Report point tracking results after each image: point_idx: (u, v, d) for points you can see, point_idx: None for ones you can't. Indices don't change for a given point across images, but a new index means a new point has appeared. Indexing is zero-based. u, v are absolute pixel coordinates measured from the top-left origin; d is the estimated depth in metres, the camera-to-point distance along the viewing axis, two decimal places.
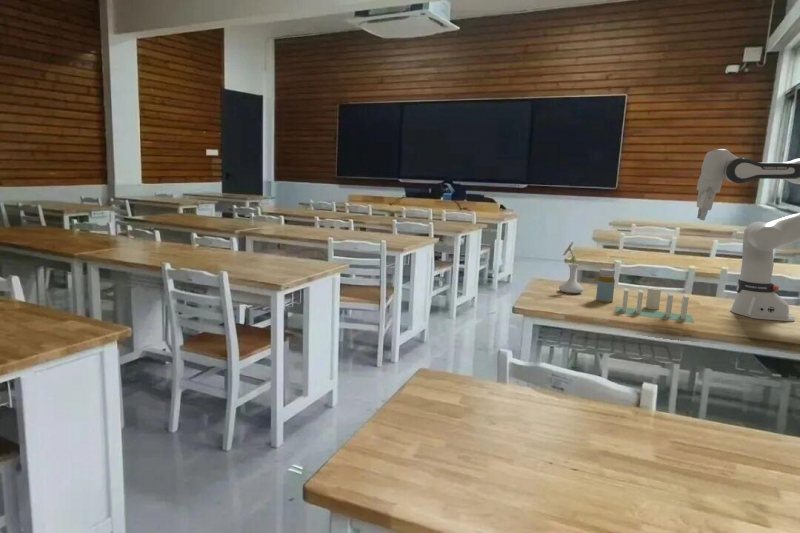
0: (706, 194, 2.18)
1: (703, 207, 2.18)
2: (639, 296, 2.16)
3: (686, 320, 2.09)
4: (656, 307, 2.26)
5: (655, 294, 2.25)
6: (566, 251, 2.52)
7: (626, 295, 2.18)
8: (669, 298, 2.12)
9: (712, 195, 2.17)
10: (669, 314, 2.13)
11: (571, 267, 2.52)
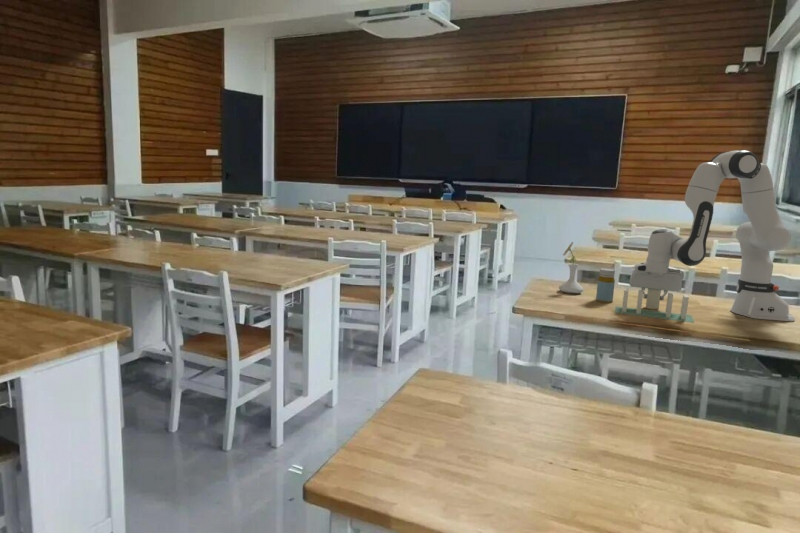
0: (680, 277, 2.20)
1: (680, 290, 2.21)
2: (639, 296, 2.16)
3: (686, 320, 2.09)
4: (656, 307, 2.26)
5: (655, 294, 2.25)
6: (566, 251, 2.52)
7: (626, 295, 2.18)
8: (669, 298, 2.12)
9: None
10: (669, 314, 2.13)
11: (571, 267, 2.52)
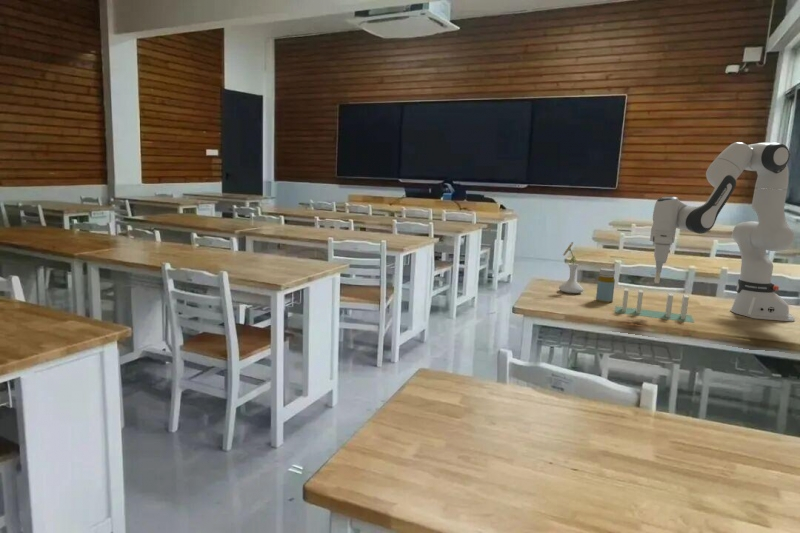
0: None
1: None
2: (639, 296, 2.16)
3: (686, 320, 2.09)
4: None
5: None
6: (566, 251, 2.52)
7: (626, 295, 2.18)
8: (669, 298, 2.12)
9: None
10: (669, 314, 2.13)
11: (571, 267, 2.52)
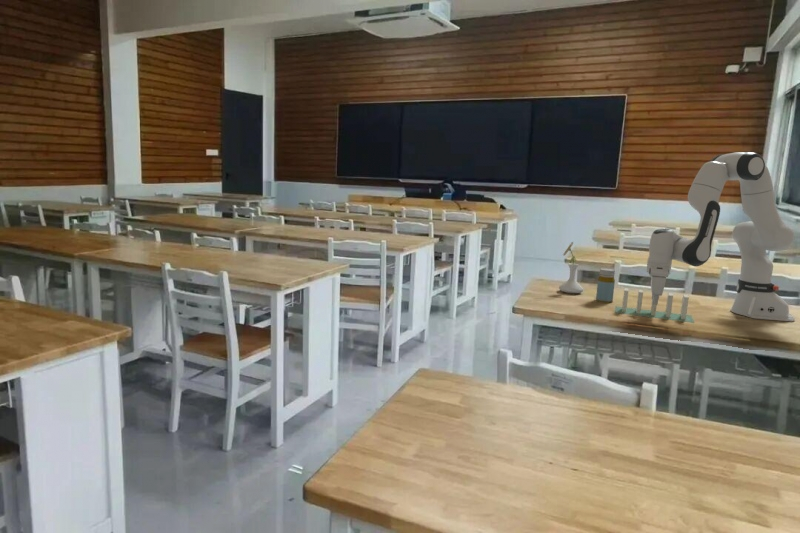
0: None
1: None
2: (639, 296, 2.16)
3: (686, 320, 2.09)
4: None
5: None
6: (566, 251, 2.52)
7: (626, 295, 2.18)
8: (669, 298, 2.12)
9: None
10: (669, 314, 2.13)
11: (571, 267, 2.52)
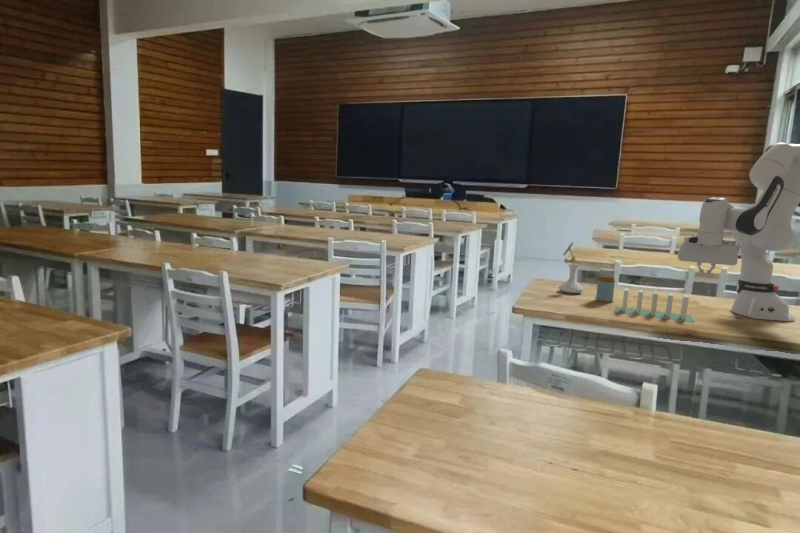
0: (736, 249, 2.01)
1: (736, 263, 2.02)
2: (639, 296, 2.16)
3: (686, 320, 2.09)
4: None
5: None
6: (566, 251, 2.52)
7: (626, 295, 2.18)
8: (669, 298, 2.12)
9: None
10: (669, 314, 2.13)
11: (571, 267, 2.52)
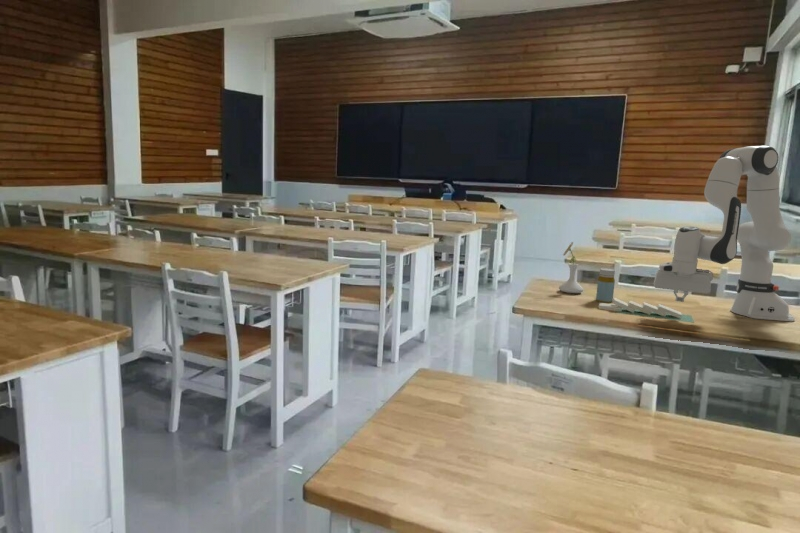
0: (709, 278, 2.06)
1: (709, 291, 2.07)
2: (617, 304, 2.20)
3: (686, 320, 2.09)
4: None
5: (634, 303, 2.20)
6: (566, 251, 2.52)
7: (603, 307, 2.22)
8: (645, 308, 2.16)
9: None
10: (663, 313, 2.14)
11: (571, 267, 2.52)
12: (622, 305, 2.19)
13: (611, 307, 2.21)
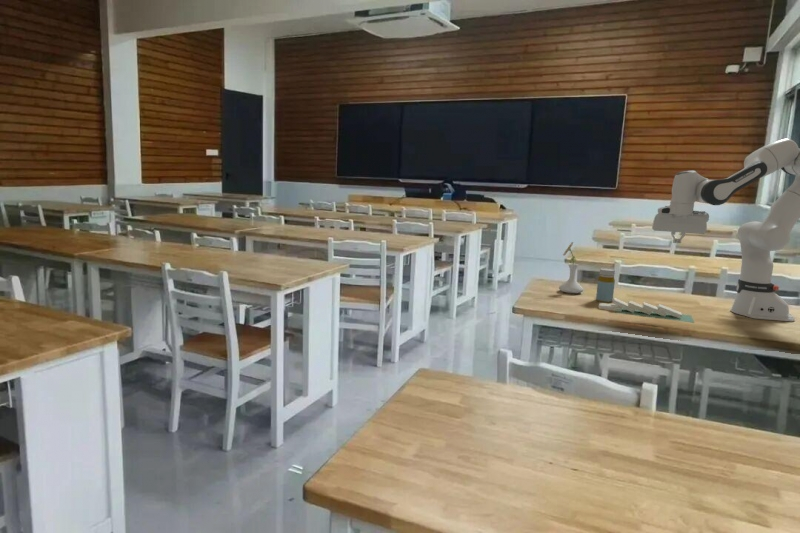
0: (705, 218, 2.16)
1: (705, 232, 2.17)
2: (617, 304, 2.20)
3: (686, 320, 2.09)
4: None
5: (634, 303, 2.20)
6: None
7: (603, 307, 2.22)
8: (645, 308, 2.16)
9: None
10: (663, 313, 2.14)
11: (571, 267, 2.52)
12: (622, 305, 2.19)
13: (611, 307, 2.21)
